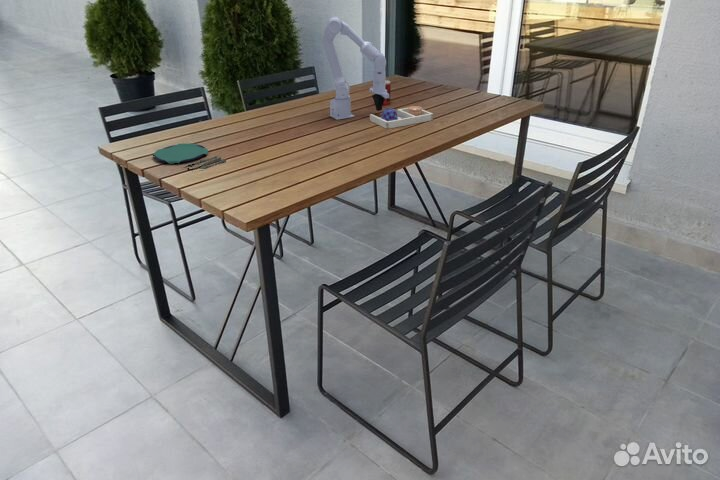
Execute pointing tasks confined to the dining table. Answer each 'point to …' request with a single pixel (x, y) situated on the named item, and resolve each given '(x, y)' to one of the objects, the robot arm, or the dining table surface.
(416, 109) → the ramekin
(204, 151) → the cutlery set
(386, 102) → the canned food
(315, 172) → the dining table surface
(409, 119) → the serving frame
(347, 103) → the robot arm
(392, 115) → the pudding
